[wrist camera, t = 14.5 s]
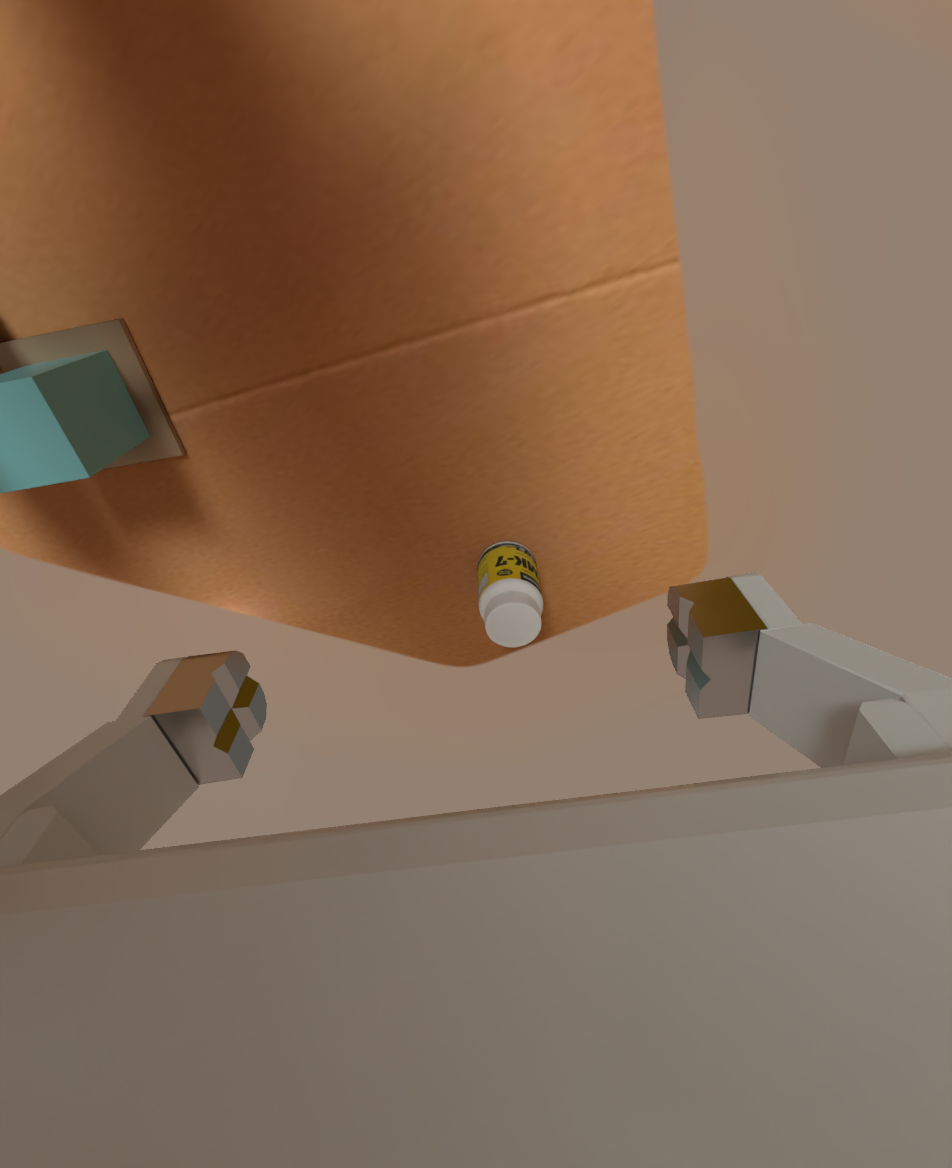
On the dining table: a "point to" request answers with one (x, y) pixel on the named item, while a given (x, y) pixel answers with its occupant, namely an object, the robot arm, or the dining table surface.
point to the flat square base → (128, 366)
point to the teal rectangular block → (64, 421)
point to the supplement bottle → (509, 594)
